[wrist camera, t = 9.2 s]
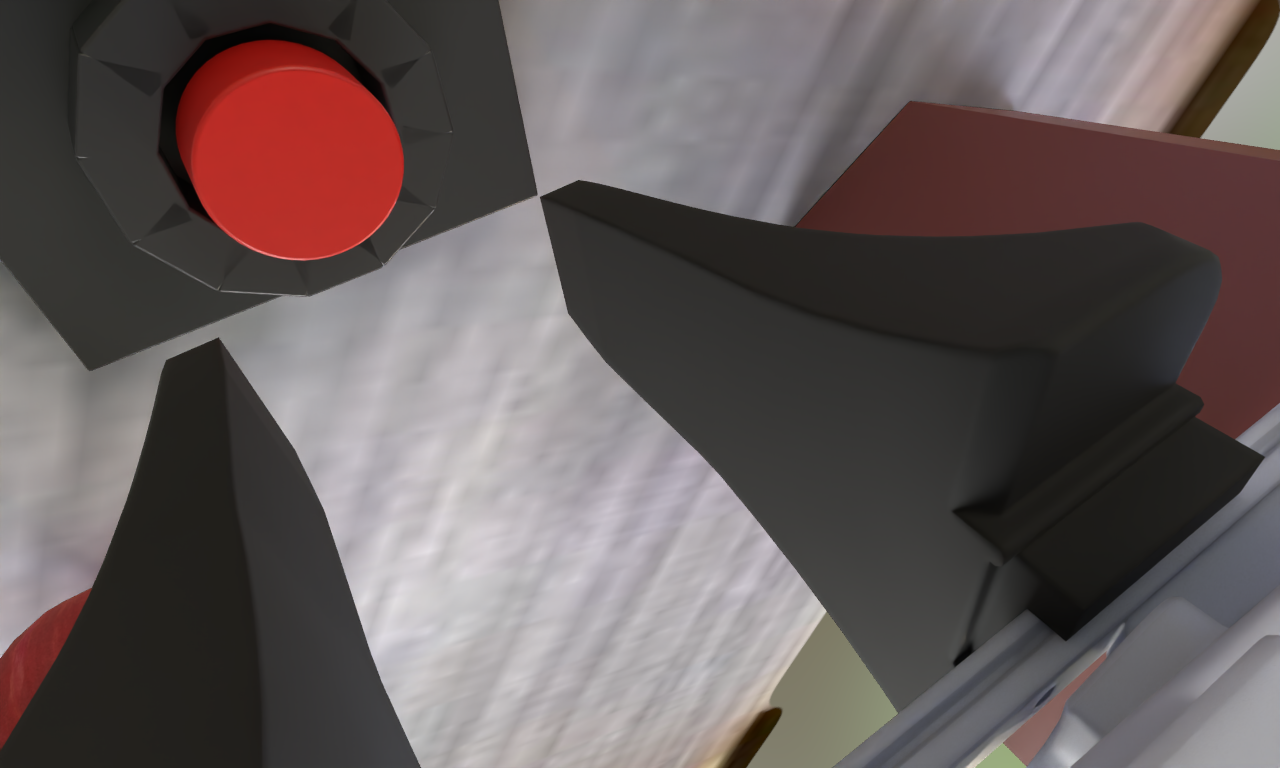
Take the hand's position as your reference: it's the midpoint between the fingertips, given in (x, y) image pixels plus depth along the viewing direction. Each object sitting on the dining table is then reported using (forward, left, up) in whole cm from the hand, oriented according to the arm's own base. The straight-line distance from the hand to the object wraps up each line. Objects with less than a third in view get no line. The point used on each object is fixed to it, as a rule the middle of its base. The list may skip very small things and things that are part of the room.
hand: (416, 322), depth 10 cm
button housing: (0, 0, -10) cm, 10 cm away
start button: (0, 0, -7) cm, 7 cm away
